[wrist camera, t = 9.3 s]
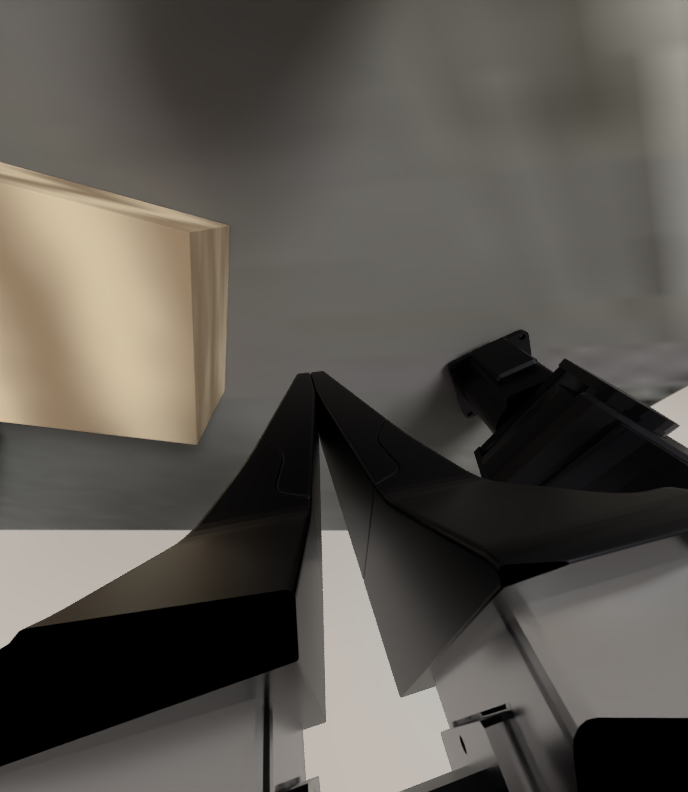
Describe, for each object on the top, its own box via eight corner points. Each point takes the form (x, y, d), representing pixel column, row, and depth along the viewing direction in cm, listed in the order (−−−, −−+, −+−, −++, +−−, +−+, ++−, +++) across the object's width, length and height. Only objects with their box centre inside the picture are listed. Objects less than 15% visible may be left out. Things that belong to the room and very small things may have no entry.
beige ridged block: (229, 225, 17) (189, 232, 11) (224, 390, 23) (196, 445, 18) (-64, 144, 14) (-305, 101, 8) (21, 357, 20) (-87, 411, 15)
